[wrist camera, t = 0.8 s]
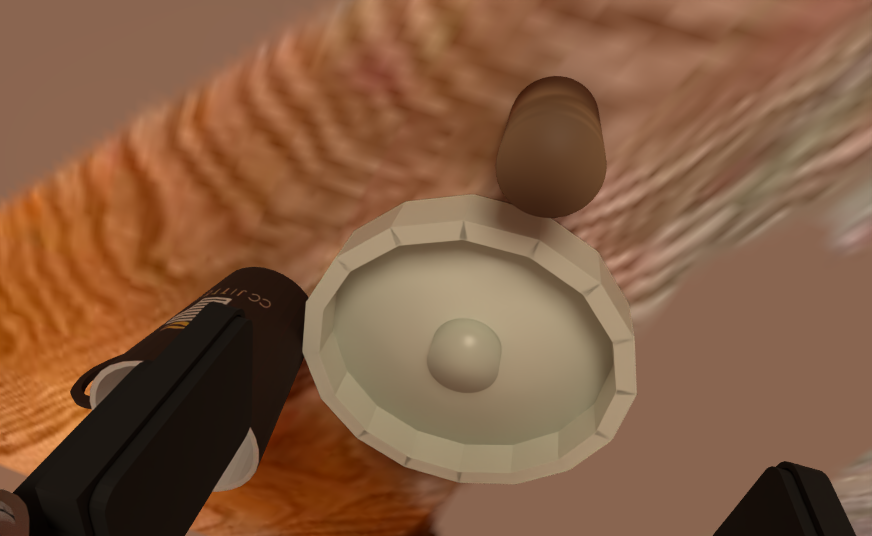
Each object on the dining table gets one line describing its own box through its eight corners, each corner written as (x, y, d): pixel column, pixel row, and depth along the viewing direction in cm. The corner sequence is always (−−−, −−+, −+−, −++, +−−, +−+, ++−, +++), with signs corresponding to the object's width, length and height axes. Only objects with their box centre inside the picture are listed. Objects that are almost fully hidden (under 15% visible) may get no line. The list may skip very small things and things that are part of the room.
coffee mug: (347, 283, 33) (272, 406, 24) (318, 382, 38) (246, 513, 29) (162, 209, 33) (22, 307, 24) (155, 317, 38) (37, 430, 29)
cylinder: (612, 88, 25) (623, 130, 20) (582, 172, 27) (585, 229, 22) (522, 66, 25) (510, 103, 20) (500, 151, 27) (484, 203, 22)
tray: (685, 249, 28) (697, 281, 25) (571, 476, 37) (571, 516, 35) (336, 158, 29) (314, 181, 26) (314, 401, 39) (296, 434, 36)
